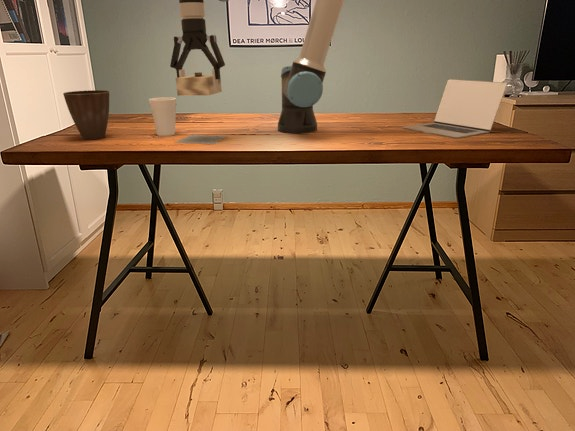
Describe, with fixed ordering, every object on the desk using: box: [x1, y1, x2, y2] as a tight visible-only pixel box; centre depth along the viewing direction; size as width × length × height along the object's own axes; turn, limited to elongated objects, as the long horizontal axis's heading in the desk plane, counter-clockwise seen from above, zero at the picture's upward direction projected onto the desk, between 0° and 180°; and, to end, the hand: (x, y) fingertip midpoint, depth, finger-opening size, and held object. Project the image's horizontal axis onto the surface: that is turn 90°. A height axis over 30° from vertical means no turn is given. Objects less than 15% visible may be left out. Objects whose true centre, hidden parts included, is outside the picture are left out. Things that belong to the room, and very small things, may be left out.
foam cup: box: [148, 96, 177, 137], centre depth 166 cm, size 10×9×13 cm
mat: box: [174, 134, 229, 145], centre depth 159 cm, size 14×14×1 cm
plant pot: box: [63, 89, 110, 140], centre depth 162 cm, size 15×15×16 cm
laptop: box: [401, 78, 508, 140], centre depth 168 cm, size 26×24×18 cm
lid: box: [175, 71, 222, 97], centre depth 152 cm, size 11×11×7 cm
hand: (199, 89), depth 153 cm, fingers closed on lid, 11 cm apart
